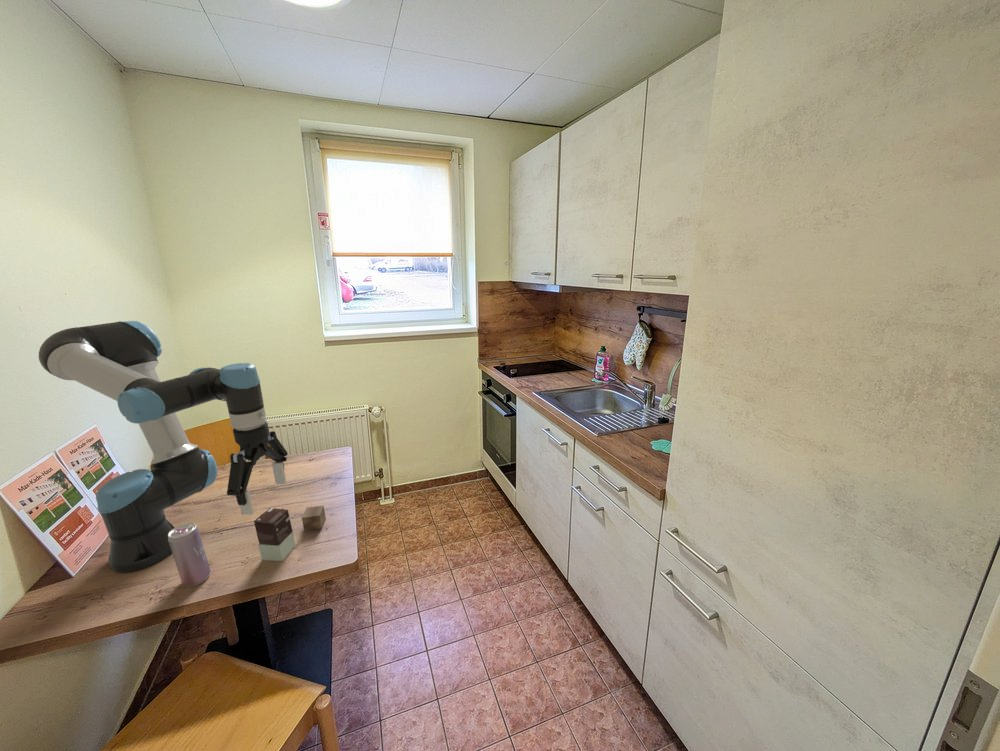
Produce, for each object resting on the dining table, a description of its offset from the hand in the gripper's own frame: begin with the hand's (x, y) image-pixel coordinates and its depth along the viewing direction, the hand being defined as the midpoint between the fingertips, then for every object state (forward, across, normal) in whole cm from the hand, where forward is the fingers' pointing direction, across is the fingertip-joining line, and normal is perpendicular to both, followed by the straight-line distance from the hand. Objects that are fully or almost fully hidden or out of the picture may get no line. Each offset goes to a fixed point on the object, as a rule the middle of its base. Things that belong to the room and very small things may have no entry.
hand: (265, 497), depth 104 cm
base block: (+18, 0, -1) cm, 18 cm away
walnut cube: (+18, +12, -5) cm, 22 cm away
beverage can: (+18, -10, +15) cm, 26 cm away
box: (+13, 0, -1) cm, 13 cm away
